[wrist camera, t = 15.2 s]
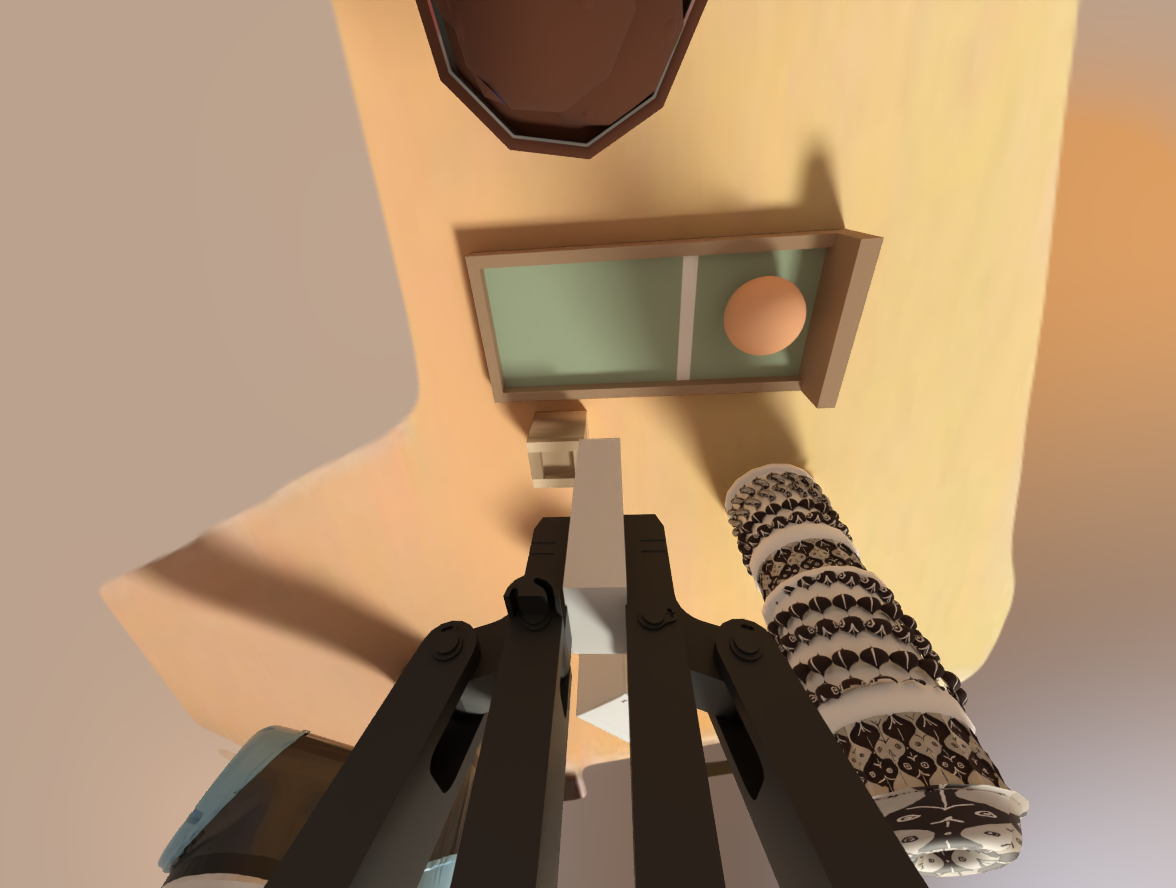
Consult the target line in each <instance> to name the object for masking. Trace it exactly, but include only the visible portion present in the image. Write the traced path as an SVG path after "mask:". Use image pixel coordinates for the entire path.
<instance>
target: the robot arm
mask: <svg viewBox="0 0 1176 888" xmlns="http://www.w3.org/2000/svg"><path fill="white" fill-rule="evenodd" d="M531 543H532V545H531V547H530V552H529V557H528V562H527V566H526V571H525V575H524V576H522V577H520V578H518V579H516V580H515V581H514V582H513V583H512V584H511V585H510V586H509V587H508V588H507V590H506V592H505V594H504V596H503V597H504V600H505V604H506V608H507V612H508V615H507V616H505V617H504V618H502V619H500V620H498V621H496V622H493V623H490V624H487V625H484V626H481V627H477V628H474V629H473V628H472V626H471V625H469V624H467V623H465V622H463V621H450V622H447V623H444V624H441V625H440V626H438V627H437V628H435V629H433V630H432V631H431V632H430V633H429V634H428V635H427V637H426V638H425V639H424V640H423V642H422V643H421V645H420V646H419V648H418V649H417V651H416V653H415V654H414V656H413V657H412V659H411V660H410V662H409V663H408V665H407V666H406V667H405V668H404V670H403V671H402V674H401V676H400V677H399V679H398V680H397V682H396V683H395V685H394V687H393V688H392V690H391V691H390V693H389V694H388V696H387V697H386V699H385V700H384V702H383V704H382V705H381V707H380V708H379V710H378V711H377V713H376V714H375V716H374V717H373V719H372V721H371V722H370V724H369V725H368V727H367V728H366V730H365V731H364V733H363V734H362V736H361V738H360V739H359V741H358V742H357V744H356V745H355V747H354V746H350V745H347V744H344V743H341V742H337V741H334V740H331V739H328V738H324V737H321V736H318V735H315V734H311V733H310V731H308V730H303V731H299V730H294V729H290V728H286V727H282V726H276V725H275V726H269V727H266V728H264V729H262V730H260V731H259V732H257V733H256V734H255V735H254V736H253V737H252V738H251V739H249V741H248V742H247V743H246V744H245V745H244V746H243V747H242V748H241V750H240V751H239V752H238V753H237V754H236V755H235V757H234V758H233V759H232V760H231V761H230V763H229V764H228V765H227V766H226V768H225V769H224V770H223V771H222V773H221V774H220V775H219V777H218V778H217V779H216V780H215V782H214V783H213V784H212V786H211V787H210V788H209V789H208V791H207V792H206V793H205V795H204V796H203V797H202V799H201V800H200V801H199V803H198V804H197V805H196V807H195V809H194V811H193V812H192V813H191V814H190V815H189V817H188V818H187V819H186V821H185V822H184V824H183V825H182V826H181V827H180V828H179V830H178V831H177V833H176V834H175V835H174V837H173V838H172V840H171V841H170V842H169V844H168V845H167V847H166V849H165V850H164V852H163V853H162V855H161V857H160V859H159V862H158V865H159V867H161V868H162V869H163V872H165V873H170V874H169V876H168V878H167V879H166V881H165V882H164V884H163V886H162V887H161V888H557V882H558V866H559V852H560V839H561V823H562V810H563V795H564V781H565V767H566V752H567V738H568V723H569V709H570V694H571V680H572V674H571V666H570V660H571V647H572V654H627V685H628V710H629V738H630V765H631V793H632V819H633V820H632V821H633V848H634V876H635V888H725V881H724V875H723V869H722V863H721V856H720V851H719V844H718V838H717V832H716V826H715V820H714V814H713V808H712V802H711V795H710V789H709V783H708V777H707V771H706V764H705V758H704V752H703V746H702V740H701V734H700V728H699V722H698V715H697V709H700V710H703V711H705V712H708V714H709V717H710V719H711V722H712V724H713V726H714V729H715V731H716V734H717V736H718V739H719V741H720V743H721V746H722V748H723V750H724V753H725V756H726V758H727V760H728V763H729V765H730V768H731V770H732V773H733V775H734V777H735V780H736V782H737V785H738V787H739V790H740V792H741V794H742V797H743V799H744V802H745V804H746V807H747V809H748V811H749V814H750V816H751V819H752V821H753V824H754V826H755V828H756V831H757V833H758V836H759V838H760V840H761V843H762V845H763V848H764V850H765V853H766V855H767V857H768V860H769V862H770V864H771V867H772V869H773V872H774V875H775V877H776V879H777V882H778V884H779V887H780V888H928V886H927V884H926V883H925V881H924V880H923V878H922V876H921V875H920V873H919V871H918V870H917V868H916V867H915V865H914V863H913V862H912V860H911V859H910V857H909V855H908V854H907V852H906V851H905V849H904V847H903V846H902V844H901V843H900V841H899V839H898V838H897V836H896V835H895V833H894V831H893V830H892V828H891V827H890V825H889V823H888V822H887V820H886V819H885V817H884V815H883V814H882V812H881V810H880V809H879V807H878V806H877V804H876V802H875V801H874V799H873V798H872V796H871V794H870V793H869V791H868V790H867V788H866V786H865V785H864V783H863V782H862V780H861V778H860V777H859V775H858V774H857V772H856V770H855V769H854V767H853V766H852V764H851V762H850V761H849V759H848V758H847V756H846V754H845V753H844V751H843V749H842V748H841V746H840V745H839V743H838V741H837V740H836V738H835V737H834V735H833V733H832V732H831V730H830V729H829V727H828V725H827V724H826V722H825V721H824V719H823V717H822V716H821V714H820V713H819V711H818V709H817V708H816V706H815V705H814V703H813V701H812V700H811V698H810V697H809V695H808V693H807V692H806V690H805V688H804V687H803V685H802V684H801V682H800V680H799V679H798V677H797V676H796V674H795V672H794V671H793V669H792V668H791V666H790V664H789V663H788V661H787V660H786V658H785V656H784V655H783V653H782V652H781V650H780V648H779V647H778V645H777V644H776V642H775V640H774V639H773V638H772V636H771V635H770V634H769V633H768V632H767V631H766V629H764V628H763V627H761V626H760V625H758V624H756V623H755V622H752V621H749V620H745V619H731V620H729V621H727V622H725V623H723V624H722V625H721V626H717V625H713V624H710V623H707V622H703V621H701V620H698V619H696V618H693V617H692V616H690V615H689V614H687V613H686V612H685V611H684V610H683V609H682V608H681V607H680V605H679V604H678V602H677V600H676V597H675V594H674V588H673V582H672V576H671V569H670V563H669V557H668V550H667V544H666V538H665V531H664V526H663V524H662V523H661V522H660V520H659V519H658V518H657V516H656V515H655V514H642V515H623V496H622V474H621V452H620V438H602V439H579V444H578V453H577V462H576V471H575V481H574V490H573V499H572V508H571V517H543V518H542V520H541V521H540V522H539V524H538V525H537V526H536V528H535V529H534V533H533V538H532V542H531ZM696 708H697V709H696ZM451 880H452V881H451ZM450 884H451V885H450Z"/></svg>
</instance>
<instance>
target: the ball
mask: <svg viewBox="0 0 1176 888" xmlns="http://www.w3.org/2000/svg"><path fill="white" fill-rule="evenodd" d="M805 319H806V304H805V300H804V297H803V295H802V293H801V292H800V290H799V289H798V288H797V287H796V286H795V285H794V284H793V283H791V282H790V281H788V280H786V279H784V278H781V277H776V276H763V277H758V278H755V279H752V280H750V281H748V282H746V283H745V284H743V285H742V286H741V287H739V288H738V289H737V290H736V291H735V292H734V294H733V295H732V296H731V298H730V299H729V301H728V303H727V306H726V308H725V312H724V328H725V332H726V334H727V336H728V338H729V340H730V341H731V342H732V344H733V345H734V346H735V347H737V348H738V349H739V350H741V351H743V352H745V353H748V354H751V355H769V354H773V353H776V352H779V351H781V350H783V349H784V348H786V347H787V346H789V345H790V344H791V343H792V342H793V341H794V340H795V339H796V338H797V337H798V335H799V333H800V332H801V330H802V328H803V326H804V323H805Z"/></svg>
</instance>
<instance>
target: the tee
mask: <svg viewBox="0 0 1176 888" xmlns="http://www.w3.org/2000/svg"><path fill="white" fill-rule="evenodd" d="M579 439H589V434H588V421H587V411H562V412H535V415H534V419H533V422H532V425H531V429H530V432H529V435H528V438H527V442H526V445H527V451H528V456H529V462H530V468H531V474H532V480H533V486H534V488H564V487H574V481H575V471H576V462H577V453H578V444H579Z"/></svg>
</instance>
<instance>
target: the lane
mask: <svg viewBox="0 0 1176 888" xmlns="http://www.w3.org/2000/svg"><path fill="white" fill-rule="evenodd" d="M882 242H883V237H879V236H874V235H870V234H865V233H861V232H857V231H852V230H848V229H837V230H822V231H806V232H791V233H775V234H759V235H744V236H728V237H713V238H697V239H682V240H666V241H650V242H635V243H619V244H604V245H588V246H573V247H557V248H541V249H526V250H510V251H495V252H479V253H471V254H469V255H467V256H465V260H466V264H467V269H468V274H469V279H470V284H471V289H472V294H473V298H474V303H475V308H476V313H477V318H478V323H479V328H480V333H481V337H482V342H483V347H484V352H485V357H486V362H487V367H488V371H489V376H490V381H491V386H492V391H493V396H494V401H495V402H519V401H545V400H570V399H596V398H621V397H647V396H673V395H698V394H724V393H749V392H775V391H800V390H801V391H802V392H803V393H804V394H805V395H806V397H807V398H808V399H809V400H810V401H811V402H812V403H813V404H814V405H815V407H816V408H835V405H836V402H837V398H838V395H839V391H840V388H841V384H842V381H843V377H844V374H845V370H846V367H847V363H848V360H849V356H850V353H851V350H852V346H853V343H854V339H855V336H856V332H857V329H858V325H859V322H860V318H861V315H862V311H863V308H864V304H865V301H866V297H867V294H868V291H869V287H870V284H871V280H872V277H873V273H874V270H875V266H876V263H877V259H878V256H879V252H880V249H881V245H882ZM763 276H776V277H781V278H784V279H786V280H788V281H790V282H791V283H793V284H794V285H795V286H796V287H797V288H798V289H799V290H800V292H801V293H802V295H803V297H804V300H805V304H806V319H805V323H804V326H803V328H802V330H801V332H800V333H799V335H798V337H797V338H796V339H795V340H794V341H793V342H792V343H791V344H790V345H789V346H787V347H786V348H784V349H783V350H781V351H779V352H776V353H773V354H769V355H751V354H748V353H745V352H743V351H741V350H739V349H738V348H737V347H735V346H734V345H733V344H732V342H731V341H730V340H729V338H728V336H727V334H726V332H725V328H724V312H725V308H726V306H727V303H728V301H729V299H730V298H731V296H732V295H733V294H734V292H735V291H736V290H737V289H738V288H739V287H741V286H742V285H743V284H745V283H746V282H748V281H750V280H752V279H755V278H758V277H763Z"/></svg>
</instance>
